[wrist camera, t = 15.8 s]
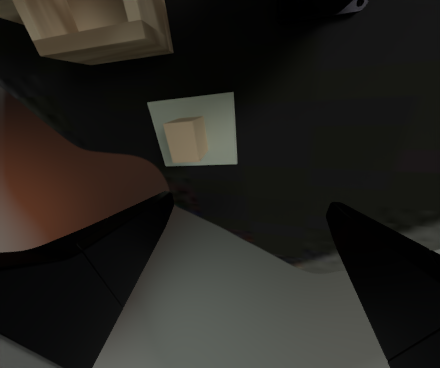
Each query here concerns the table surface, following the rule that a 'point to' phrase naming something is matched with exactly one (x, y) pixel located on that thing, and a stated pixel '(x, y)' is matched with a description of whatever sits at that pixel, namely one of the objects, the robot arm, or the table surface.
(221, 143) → the plate with block handle
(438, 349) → the robot arm
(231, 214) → the table surface
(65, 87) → the table surface
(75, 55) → the toolbox
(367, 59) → the table surface
